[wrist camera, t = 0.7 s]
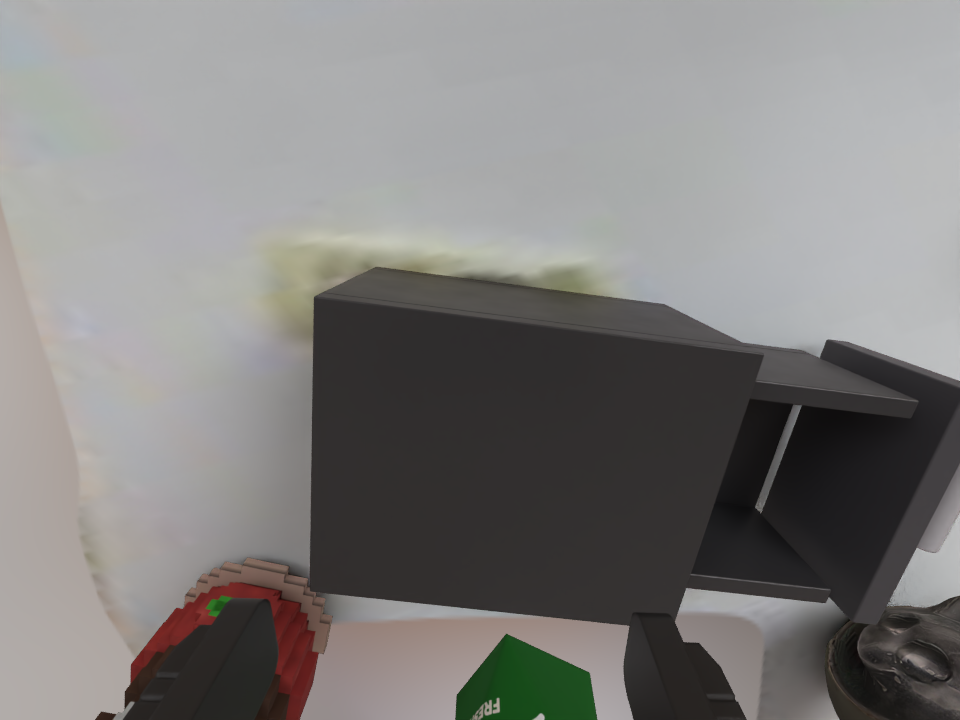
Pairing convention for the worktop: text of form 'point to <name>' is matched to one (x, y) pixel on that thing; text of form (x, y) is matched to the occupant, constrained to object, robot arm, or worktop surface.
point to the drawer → (835, 480)
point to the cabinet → (515, 445)
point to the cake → (294, 623)
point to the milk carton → (526, 687)
